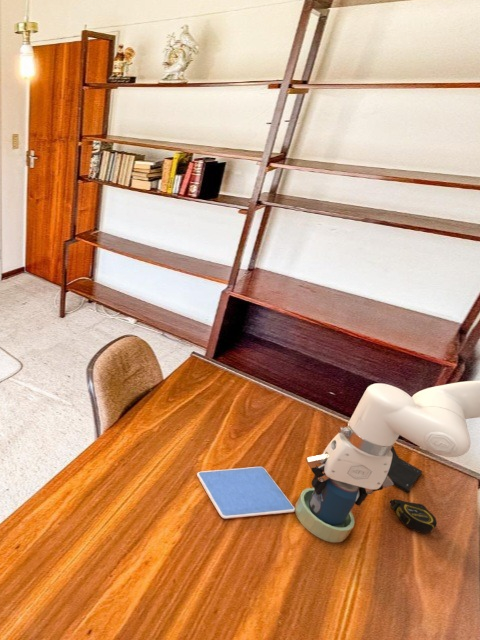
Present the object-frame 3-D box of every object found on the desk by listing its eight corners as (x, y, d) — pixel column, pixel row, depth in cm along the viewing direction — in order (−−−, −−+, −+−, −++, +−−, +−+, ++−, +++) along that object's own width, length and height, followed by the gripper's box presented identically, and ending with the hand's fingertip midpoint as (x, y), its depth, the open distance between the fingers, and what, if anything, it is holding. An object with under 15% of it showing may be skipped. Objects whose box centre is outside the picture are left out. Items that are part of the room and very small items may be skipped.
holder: (351, 522, 94) (359, 510, 92) (340, 552, 87) (348, 540, 85) (302, 491, 101) (308, 480, 99) (288, 517, 94) (294, 505, 92)
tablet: (261, 468, 106) (263, 465, 106) (296, 513, 95) (297, 509, 95) (194, 474, 104) (195, 471, 104) (221, 521, 93) (223, 517, 92)
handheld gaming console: (421, 493, 99) (404, 454, 101) (384, 491, 104) (368, 453, 106) (423, 472, 107) (408, 436, 108) (389, 471, 112) (374, 436, 114)
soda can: (347, 519, 92) (368, 485, 87) (332, 534, 89) (353, 499, 83) (315, 495, 97) (334, 461, 92) (300, 508, 94) (318, 474, 89)
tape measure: (418, 512, 97) (425, 502, 95) (437, 539, 91) (445, 529, 89) (386, 505, 98) (393, 495, 96) (403, 532, 92) (410, 522, 90)
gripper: (325, 440, 81) (296, 496, 89) (428, 465, 76) (388, 522, 84) (313, 414, 88) (287, 469, 95) (408, 436, 83) (373, 492, 91)
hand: (335, 494), depth 90 cm, fingers closed on soda can, 7 cm apart
